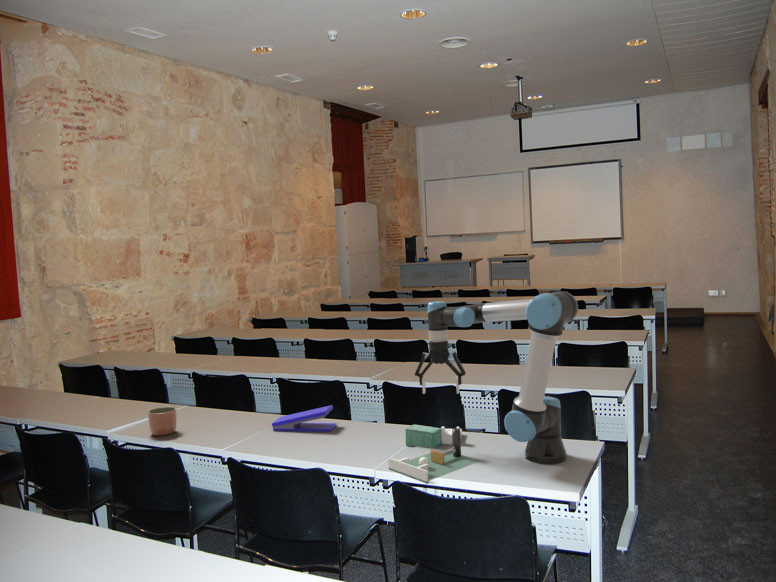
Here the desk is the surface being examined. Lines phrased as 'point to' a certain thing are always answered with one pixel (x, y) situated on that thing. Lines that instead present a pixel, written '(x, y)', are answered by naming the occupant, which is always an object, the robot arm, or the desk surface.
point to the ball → (423, 461)
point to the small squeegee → (456, 449)
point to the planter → (162, 420)
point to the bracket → (447, 435)
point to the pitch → (433, 469)
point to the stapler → (295, 421)
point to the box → (423, 436)
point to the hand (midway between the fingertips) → (441, 393)
